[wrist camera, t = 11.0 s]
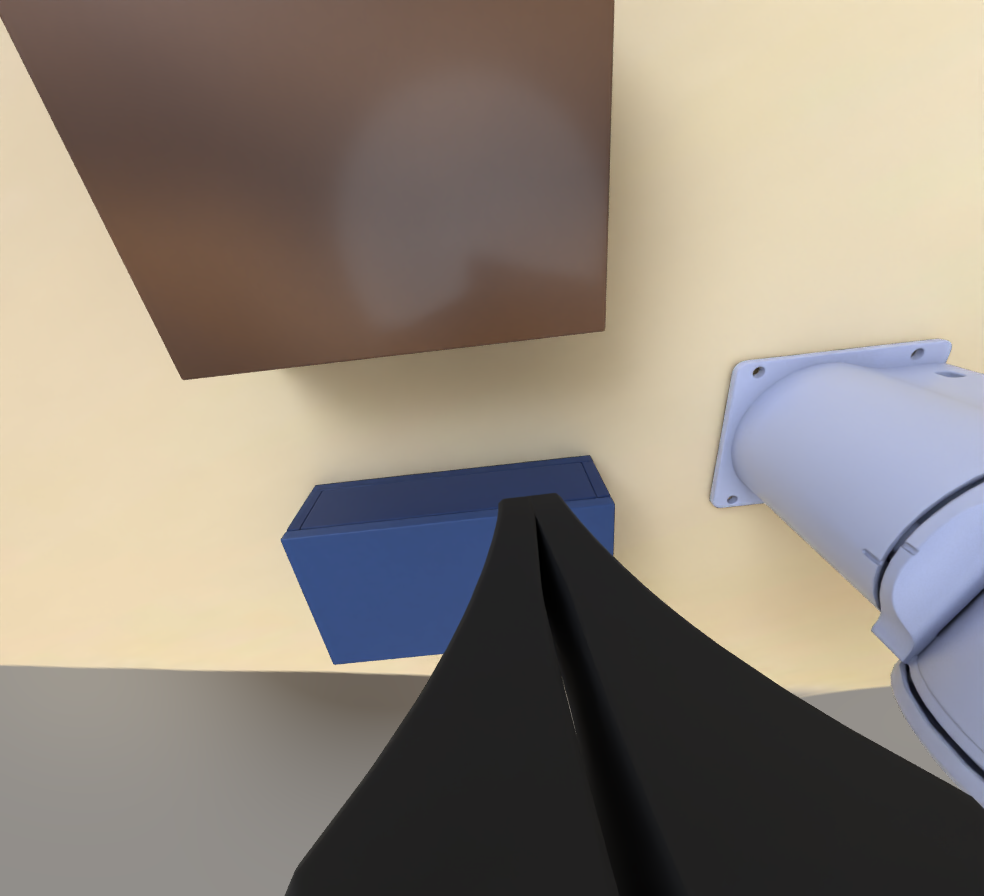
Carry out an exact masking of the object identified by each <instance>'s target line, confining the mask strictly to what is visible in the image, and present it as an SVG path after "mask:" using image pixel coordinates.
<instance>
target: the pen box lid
mask: <svg viewBox="0 0 984 896" xmlns="http://www.w3.org/2000/svg"><path fill="white" fill-rule="evenodd" d="M0 17H1V19H2V21H3V23H4V25H5V27H6V29H7V31H8V33H9V35H10V37H11V39H12V41H13V43H14V45H15V47H16V49H17V51H18V53H19V55H20V57H21V59H22V61H23V63H24V65H25V67H26V69H27V71H28V73H29V75H30V77H31V79H32V81H33V83H34V85H35V87H36V89H37V91H38V93H39V95H40V97H41V99H42V101H43V103H44V105H45V107H46V109H47V111H48V113H49V115H50V117H51V119H52V121H53V123H54V125H55V127H56V129H57V131H58V133H59V135H60V137H61V139H62V141H63V143H64V145H65V147H66V149H67V151H68V153H69V155H70V157H71V159H72V161H73V163H74V165H75V167H76V169H77V171H78V173H79V175H80V177H81V179H82V181H83V183H84V185H85V187H86V189H87V191H88V193H89V195H90V197H91V199H92V201H93V203H94V205H95V207H96V209H97V211H98V213H99V215H100V217H101V219H102V221H103V223H104V225H105V227H106V229H107V231H108V233H109V235H110V237H111V239H112V241H113V243H114V245H115V247H116V249H117V251H118V253H119V255H120V257H121V259H122V261H123V263H124V265H125V267H126V269H127V271H128V273H129V275H130V277H131V279H132V281H133V283H134V285H135V287H136V289H137V291H138V293H139V295H140V297H141V299H142V301H143V303H144V305H145V307H146V309H147V311H148V312H149V314H150V316H151V318H152V320H153V322H154V324H155V326H156V328H157V330H158V332H159V334H160V336H161V338H162V340H163V342H164V344H165V346H166V348H167V350H168V352H169V354H170V356H171V358H172V360H173V362H174V364H175V366H176V368H177V370H178V372H179V374H180V376H181V378H182V379H183V380H189V379H198V378H207V377H215V376H224V375H232V374H241V373H250V372H258V371H267V370H275V369H284V368H292V367H301V366H310V365H318V364H327V363H335V362H344V361H353V360H361V359H370V358H378V357H387V356H396V355H404V354H413V353H421V352H430V351H439V350H447V349H456V348H464V347H473V346H481V345H490V344H499V343H507V342H516V341H524V340H533V339H542V338H550V337H559V336H567V335H576V334H585V333H593V332H602V331H605V324H606V288H607V252H608V216H609V180H610V144H611V108H612V72H613V36H614V0H0Z"/></svg>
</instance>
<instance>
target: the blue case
mask: <svg viewBox="0 0 984 896" xmlns="http://www.w3.org/2000/svg"><path fill="white" fill-rule="evenodd" d="M549 493H557V494H558V495H560V496H561V497H562V499H563V500H564V502H568V501H577V500H586V499H596V498H605V497H610V494H609V492H608V490H607V488H606V486H605V484H604V482H603V480H602V478H601V476H600V474H599V472H598V470H597V468H596V466H595V464H594V462H593V460H592V458H591V456H590V455H587V456H578V457H569V458H560V459H551V460H541V461H532V462H523V463H514V464H505V465H496V466H487V467H478V468H468V469H459V470H450V471H441V472H432V473H423V474H414V475H405V476H396V477H386V478H377V479H368V480H359V481H350V482H341V483H332V484H323V485H316V486H315V487H314V488H313V490H312V492H311V493H310V494H309V496H308V498H307V499H306V501H305V502H304V504H303V505H302V507H301V509H300V510H299V512H298V513H297V515H296V516H295V518H294V519H293V521H292V523H291V524H290V526H289V527H288V529H287V532H288V531H297V530H307V529H316V528H325V527H335V526H344V525H353V524H362V523H372V522H381V521H390V520H400V519H409V518H418V517H428V516H437V515H446V514H456V513H465V512H474V511H484V510H493V509H498V503H499V502H500V501H501V500H502V499H506V498H515V497H523V496H532V495H540V494H549Z"/></svg>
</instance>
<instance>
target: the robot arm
mask: <svg viewBox="0 0 984 896" xmlns="http://www.w3.org/2000/svg"><path fill="white" fill-rule="evenodd" d="M951 348H952V344H951V342H949V341H948V340H944V339H930V340H921V341H912V342H904V343H895V344H886V345H877V346H868V347H860V348H851V349H842V350H833V351H825V352H816V353H807V354H798V355H789V356H781V357H772V358H763V359H754V360H746V361H742V362H740V363H738V364H737V365H736V366H735V367H734V369H733V372H732V376H731V382H730V387H729V393H728V399H727V404H726V410H725V416H724V421H723V427H722V432H721V438H720V444H719V449H718V455H717V460H716V466H715V472H714V477H713V483H712V489H711V494H710V501H711V503H712V504H713V505H714V506H715V507H717V508H723V507H733V506H742V505H752V504H761V503H765V504H766V505H767V506H768V507H769V508H770V509H772V510H773V511H774V512H775V513H776V514H777V515H778V516H779V517H780V518H781V519H782V520H783V521H784V522H785V523H786V524H787V525H789V526H790V527H791V528H792V529H793V530H794V531H795V532H796V533H797V534H798V535H799V536H800V537H801V538H802V539H803V540H804V541H806V542H807V543H808V544H809V545H810V546H811V547H812V548H813V549H814V550H815V551H816V552H817V553H818V554H819V555H820V556H821V557H823V558H824V559H825V560H826V561H827V562H828V563H829V564H830V565H831V566H832V567H833V568H834V569H835V570H836V571H837V572H839V573H840V574H841V575H842V576H843V577H844V578H845V579H846V580H847V581H848V582H849V583H850V584H851V585H852V586H853V587H854V588H856V589H857V590H858V591H859V592H860V593H861V594H862V595H863V596H864V597H865V598H866V599H867V600H868V601H869V602H870V603H871V604H873V605H874V606H875V607H876V608H877V609H878V610H879V611H880V612H881V613H880V616H879V618H878V620H877V622H876V623H875V624H874V626H873V627H872V628H871V631H872V632H873V633H874V634H875V635H876V636H877V637H878V638H879V639H880V640H881V641H882V642H883V643H884V644H885V645H886V646H887V647H888V648H889V649H890V650H891V651H892V652H893V653H894V654H895V655H896V656H897V657H898V658H899V659H900V660H899V661H898V662H897V663H896V664H894V667H893V670H892V672H891V687H892V691H893V694H894V697H895V700H896V701H897V704H898V706H899V708H900V710H901V712H902V714H903V716H904V717H905V719H906V720H907V722H908V723H909V725H910V727H911V728H912V730H913V731H914V733H915V734H916V736H917V737H918V739H919V740H920V742H921V743H922V745H923V746H924V747H925V749H926V750H927V752H928V753H929V754H930V755H931V757H932V758H933V759H934V761H935V762H936V763H937V764H938V765H939V766H940V768H941V769H942V770H943V771H944V772H945V773H946V774H947V775H948V777H949V778H950V779H951V780H952V781H953V782H954V783H955V784H956V785H957V786H958V787H959V788H960V789H961V790H962V791H961V790H960V789H957V788H956V787H954V786H952V785H951V784H949V783H947V782H945V781H943V780H942V779H940V778H938V777H936V776H934V775H932V774H931V773H929V772H927V771H925V770H924V769H921V768H920V767H918V766H916V765H915V764H913V763H911V762H909V761H907V760H906V759H904V758H902V757H900V756H898V755H896V754H894V753H893V752H891V751H889V750H888V749H886V748H884V747H882V746H880V745H878V744H877V743H875V742H873V741H871V740H869V739H868V738H866V737H864V736H862V735H861V734H859V733H857V732H855V731H853V730H852V729H850V728H848V727H846V726H844V725H843V724H841V723H840V722H838V721H836V720H835V719H833V718H831V717H830V716H828V715H826V714H825V713H823V712H822V711H820V710H818V709H817V708H815V707H813V706H812V705H810V704H808V703H807V702H805V701H803V700H802V699H800V698H799V697H797V696H795V695H794V694H792V693H790V692H789V691H787V690H786V689H784V688H782V687H781V686H779V685H778V684H776V683H775V682H773V681H772V680H770V679H769V678H767V677H766V676H765V675H763V674H762V673H760V672H759V671H757V670H756V669H754V668H753V667H751V666H750V665H748V664H747V663H745V662H744V661H742V660H741V659H739V658H738V657H736V656H735V655H733V654H732V653H730V652H729V651H727V650H726V649H725V648H723V647H722V646H720V645H719V644H717V643H716V642H715V641H713V640H712V639H711V638H709V637H708V636H706V635H705V634H704V633H702V632H701V631H700V630H698V629H697V628H696V627H694V626H693V625H692V624H690V623H689V622H688V621H687V620H685V619H684V618H683V617H682V616H680V615H679V614H678V613H677V612H675V611H674V610H673V609H671V608H670V607H669V606H668V605H666V604H665V603H664V602H663V601H662V600H660V599H659V598H658V597H657V596H656V595H655V594H653V593H652V592H651V591H650V590H649V589H648V588H647V587H645V586H644V585H643V584H642V583H641V582H640V581H639V580H638V579H637V578H636V577H634V576H633V575H632V574H631V573H630V572H629V571H628V570H627V569H626V568H625V567H624V566H623V565H622V564H621V563H620V562H619V561H617V560H616V559H615V558H614V557H613V556H612V555H611V554H610V552H609V551H608V550H607V549H606V548H605V547H604V546H603V545H602V544H601V543H600V542H599V541H598V540H597V539H596V538H595V537H594V536H593V535H592V534H591V533H590V531H589V530H588V529H587V528H586V527H585V526H584V525H583V524H582V522H581V521H580V520H579V519H578V518H577V517H576V515H575V514H574V513H573V512H572V510H571V509H570V508H569V507H568V505H567V504H566V503H565V502H564V500H563V499H562V497H561V496H560V495H558V494H557V493H549V494H540V495H532V496H523V497H515V498H506V499H502V500H501V501H500V502H499V503H498V516H497V522H496V527H495V531H494V535H493V539H492V542H491V545H490V548H489V551H488V555H487V558H486V561H485V564H484V567H483V570H482V572H481V575H480V577H479V580H478V582H477V585H476V587H475V589H474V592H473V594H472V597H471V599H470V602H469V604H468V606H467V608H466V610H465V613H464V615H463V617H462V619H461V621H460V623H459V625H458V627H457V629H456V631H455V633H454V635H453V637H452V639H451V641H450V643H449V645H448V647H447V649H446V650H445V652H444V654H443V656H442V657H441V659H440V661H439V663H438V664H437V666H436V668H435V670H434V672H433V673H432V675H431V677H430V679H429V680H428V682H427V684H426V685H425V687H424V689H423V690H422V692H421V694H420V695H419V697H418V699H417V700H416V702H415V703H414V705H413V706H412V708H411V709H410V711H409V712H408V714H407V716H406V717H405V719H404V720H403V721H402V723H401V724H400V726H399V727H398V729H397V731H396V732H395V733H394V735H393V737H392V738H391V740H390V741H389V743H388V744H387V746H386V747H385V748H384V750H383V752H382V753H381V754H380V756H379V757H378V759H377V760H376V762H375V763H374V765H373V766H372V767H371V769H370V770H369V772H368V773H367V774H366V776H365V777H364V779H363V780H362V781H361V783H360V784H359V785H358V787H357V788H356V789H355V791H354V792H353V793H352V795H351V796H350V798H349V799H348V800H347V801H346V803H345V804H344V805H343V807H342V808H341V809H340V811H339V812H338V813H337V815H336V816H335V817H334V819H333V820H332V821H331V823H330V824H329V825H328V827H327V828H326V829H325V830H324V832H323V833H322V835H321V836H320V837H319V838H318V840H317V841H316V842H315V844H314V845H313V847H312V848H311V849H310V850H309V852H308V853H307V854H306V856H305V857H304V858H303V860H302V861H301V862H300V864H299V865H298V867H297V868H296V870H295V872H294V875H293V877H292V879H291V882H290V884H289V886H288V889H287V891H286V894H285V896H984V374H982V373H978V372H974V371H971V370H967V369H964V368H960V367H957V366H953V365H949V364H946V361H947V359H948V356H949V354H950V352H951ZM914 351H915V353H914V354H913V352H914ZM912 354H913V355H912ZM757 367H759V368H760V369H759V371H758V373H756V374H755V375H753V372H754V370H755V369H756V368H757ZM730 496H732V497H731V498H730V499H728V498H729V497H730ZM563 683H564V684H563ZM564 687H565V689H564ZM565 690H566V693H565ZM566 694H567V697H568V701H569V705H570V709H571V712H570V709H569V705H568V701H567V697H566ZM571 713H572V717H573V720H572V717H571ZM573 721H574V724H573ZM574 726H575V728H574ZM575 731H576V732H575Z"/></svg>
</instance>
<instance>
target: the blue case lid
mask: <svg viewBox="0 0 984 896" xmlns="http://www.w3.org/2000/svg"><path fill="white" fill-rule="evenodd" d="M565 503H566V504H567V505H568V507H569V508H570V509H571V510H572V512H573V513H574V514H575V515H576V517H577V518H578V519H579V520H580V521H581V522H582V524H583V525H584V526H585V527H586V528H587V529H588V530H589V531H590V533H591V534H592V535H593V536H594V537H595V538H596V539H597V540H598V541H599V542H600V543H601V544H602V545H603V546H604V547H605V548H606V549H607V550H608V551H609V552H610V554H611V555H612V556H613V550H614V517H615V504H614V502H613V500H612V498H611V497H605V498H596V499H586V500H577V501H568V502H565ZM497 516H498V509H493V510H484V511H474V512H465V513H456V514H446V515H437V516H428V517H418V518H409V519H400V520H390V521H381V522H372V523H362V524H353V525H344V526H335V527H325V528H316V529H307V530H297V531H288V532H286V533H285V534H284V535H283V537H282V538H281V542H282V545H283V547H284V549H285V552H286V554H287V556H288V559H289V561H290V563H291V566H292V568H293V570H294V573H295V575H296V577H297V580H298V582H299V585H300V587H301V589H302V592H303V594H304V596H305V599H306V601H307V603H308V606H309V608H310V610H311V613H312V615H313V617H314V620H315V622H316V624H317V627H318V629H319V631H320V634H321V636H322V638H323V641H324V643H325V645H326V648H327V650H328V652H329V655H330V657H331V659H332V662H333V664H334V665H336V664H346V663H356V662H366V661H376V660H386V659H396V658H406V657H416V656H427V655H437V654H444V652H445V650H446V649H447V647H448V645H449V643H450V641H451V639H452V637H453V635H454V633H455V631H456V629H457V627H458V625H459V623H460V621H461V619H462V617H463V615H464V613H465V610H466V608H467V606H468V604H469V602H470V599H471V597H472V594H473V592H474V589H475V587H476V585H477V582H478V580H479V577H480V575H481V572H482V570H483V567H484V564H485V561H486V558H487V555H488V551H489V548H490V545H491V542H492V539H493V535H494V531H495V527H496V522H497Z"/></svg>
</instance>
